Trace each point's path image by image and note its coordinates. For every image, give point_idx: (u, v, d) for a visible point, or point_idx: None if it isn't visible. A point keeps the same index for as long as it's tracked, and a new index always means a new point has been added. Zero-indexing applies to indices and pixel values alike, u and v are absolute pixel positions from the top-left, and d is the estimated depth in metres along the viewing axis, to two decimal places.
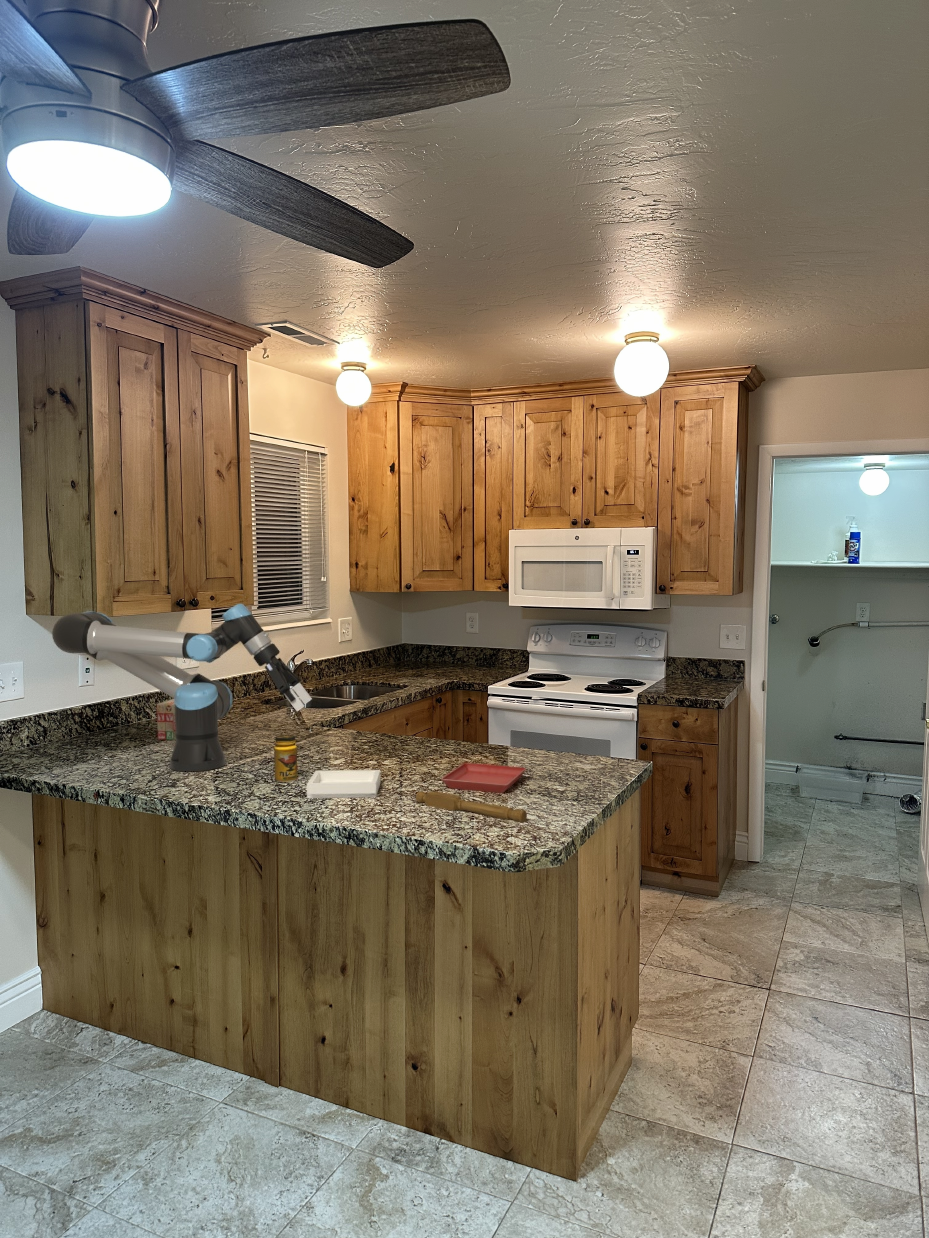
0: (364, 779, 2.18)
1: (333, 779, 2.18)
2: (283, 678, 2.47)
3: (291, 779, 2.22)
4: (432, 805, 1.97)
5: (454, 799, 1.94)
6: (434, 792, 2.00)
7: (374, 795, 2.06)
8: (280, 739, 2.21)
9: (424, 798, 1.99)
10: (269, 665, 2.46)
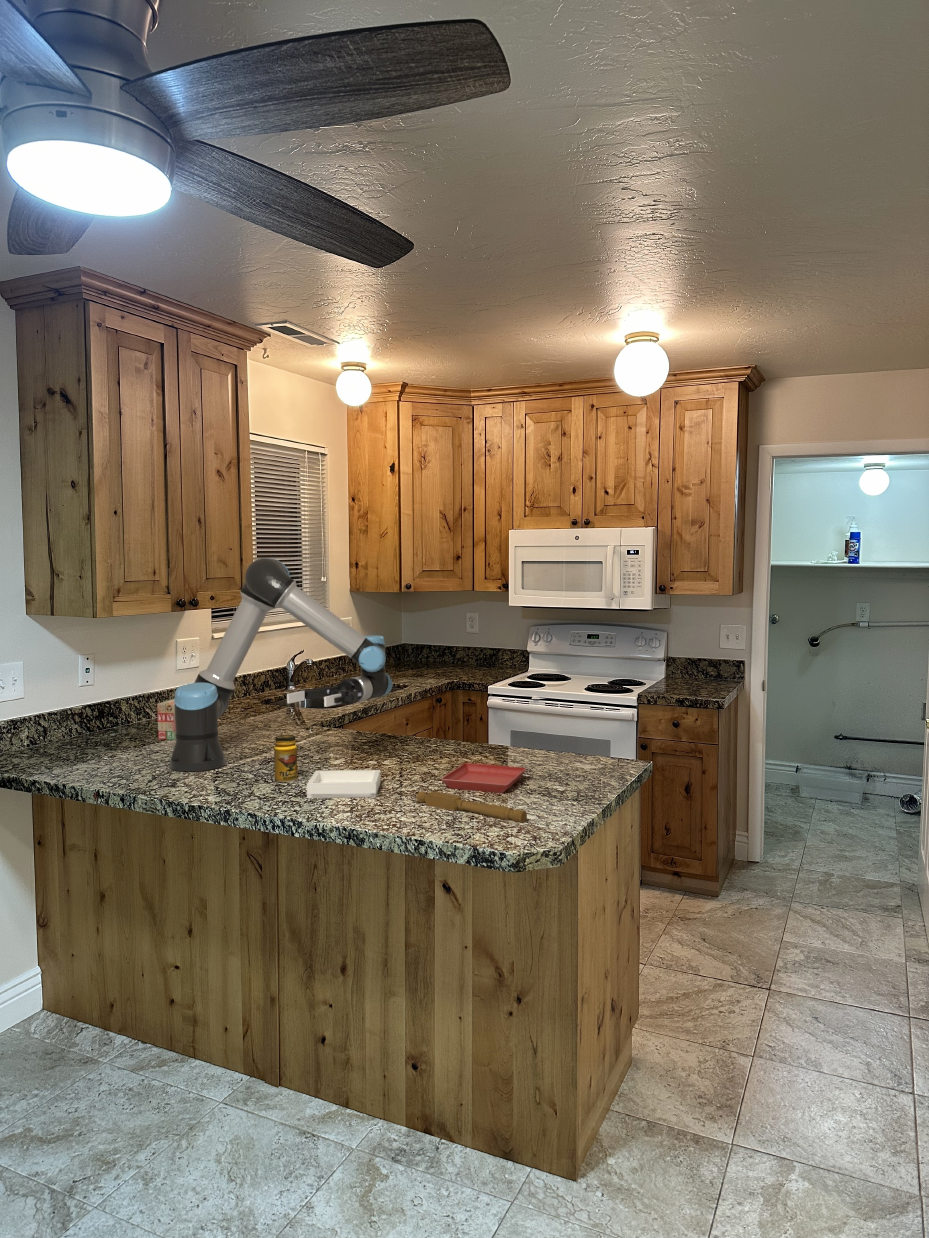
0: (364, 779, 2.18)
1: (333, 779, 2.18)
2: None
3: (291, 779, 2.22)
4: (433, 805, 1.97)
5: (455, 799, 1.94)
6: (435, 792, 1.99)
7: (374, 795, 2.06)
8: (280, 739, 2.21)
9: (425, 798, 1.99)
10: (360, 695, 2.42)
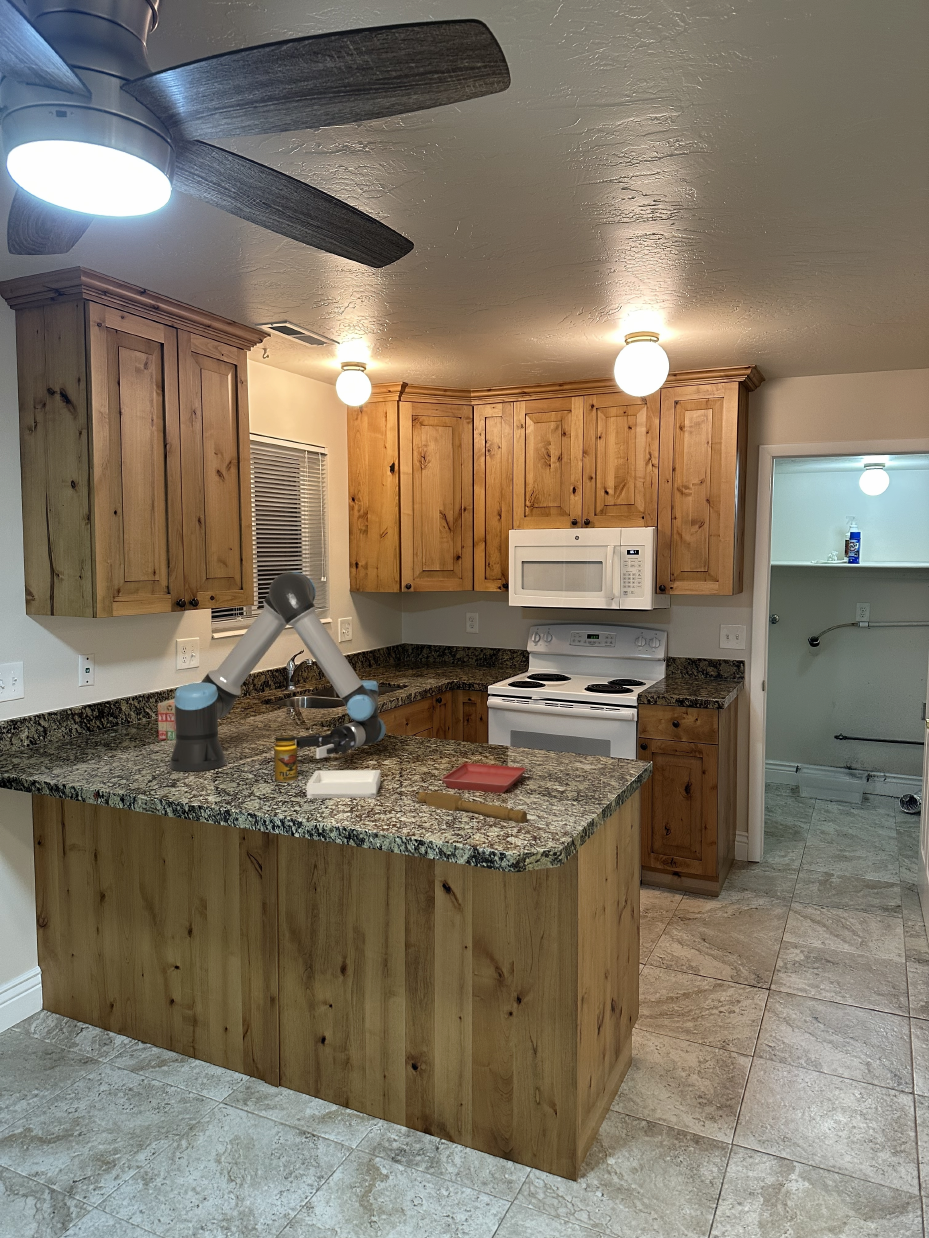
0: (364, 779, 2.18)
1: (333, 779, 2.18)
2: None
3: (291, 779, 2.22)
4: (433, 805, 1.97)
5: (455, 799, 1.94)
6: (435, 792, 1.99)
7: (374, 795, 2.06)
8: (280, 739, 2.21)
9: (425, 798, 1.99)
10: (353, 744, 2.38)
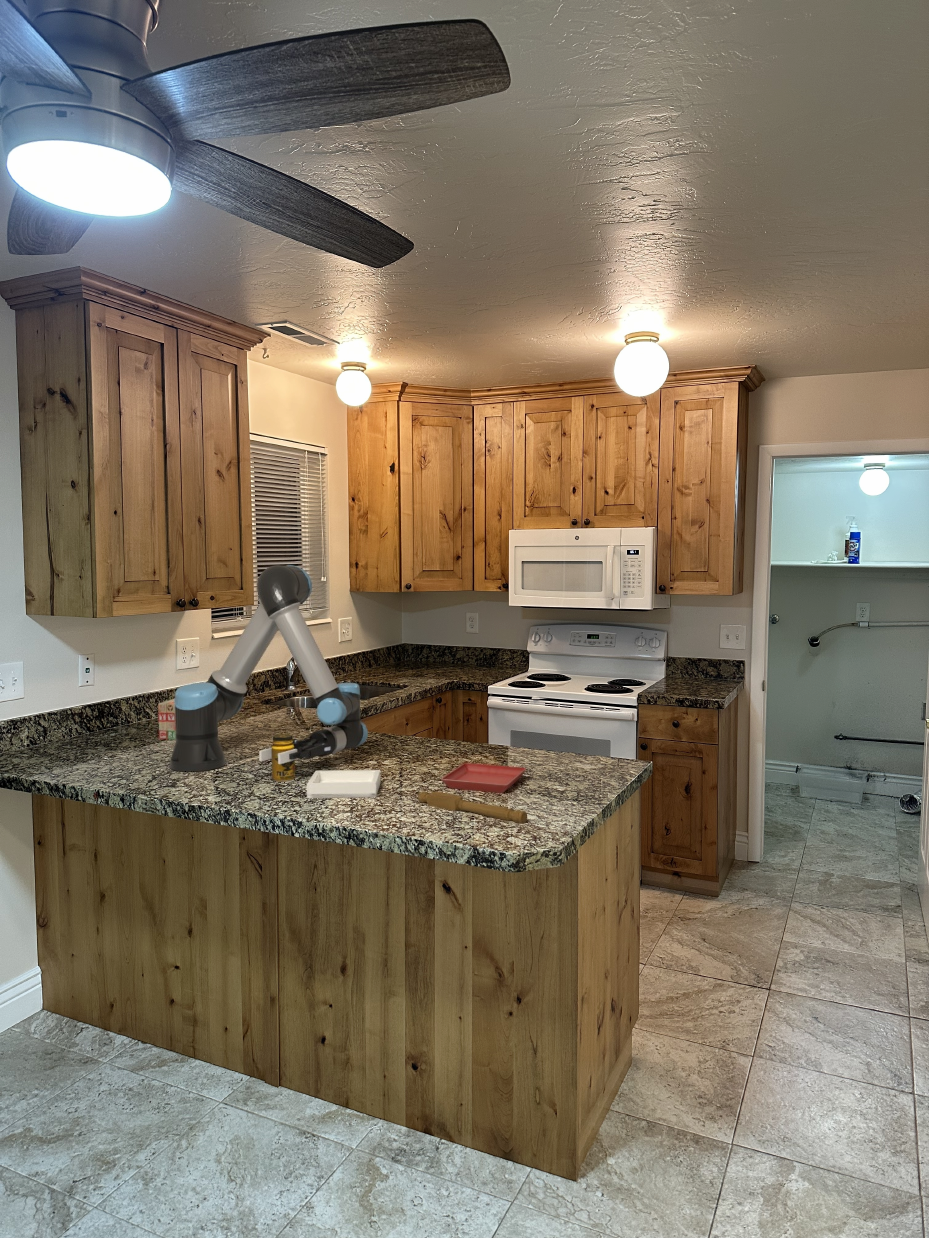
0: (364, 779, 2.18)
1: (333, 779, 2.18)
2: None
3: (288, 779, 2.22)
4: (434, 805, 1.97)
5: (456, 799, 1.94)
6: (436, 792, 1.99)
7: (374, 795, 2.06)
8: (277, 739, 2.21)
9: (426, 798, 1.99)
10: (329, 749, 2.30)
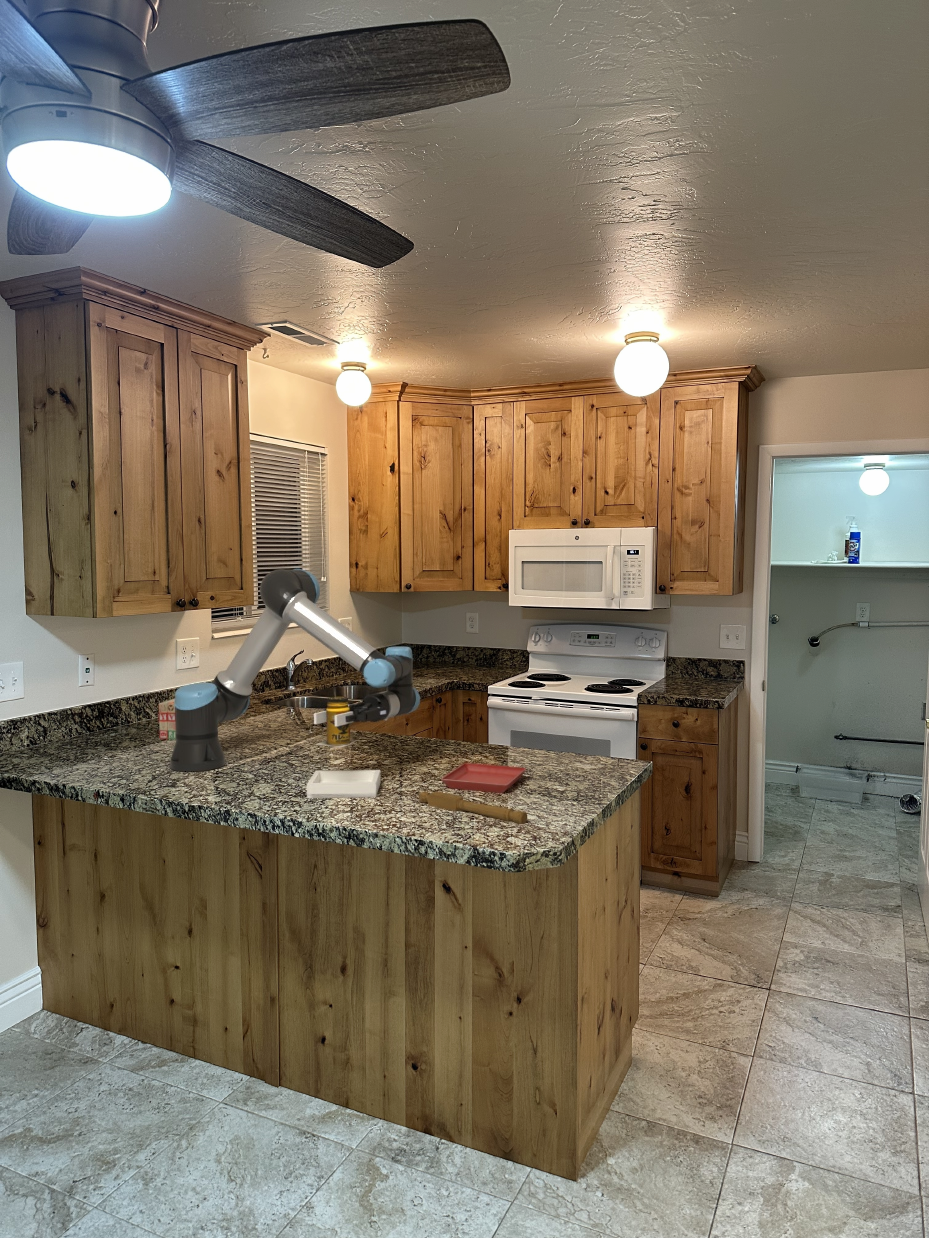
0: (364, 779, 2.18)
1: (333, 779, 2.18)
2: None
3: (344, 742, 2.11)
4: (434, 805, 1.97)
5: (456, 799, 1.94)
6: (437, 792, 1.99)
7: (374, 795, 2.06)
8: (332, 700, 2.11)
9: (427, 798, 1.99)
10: (384, 713, 2.20)
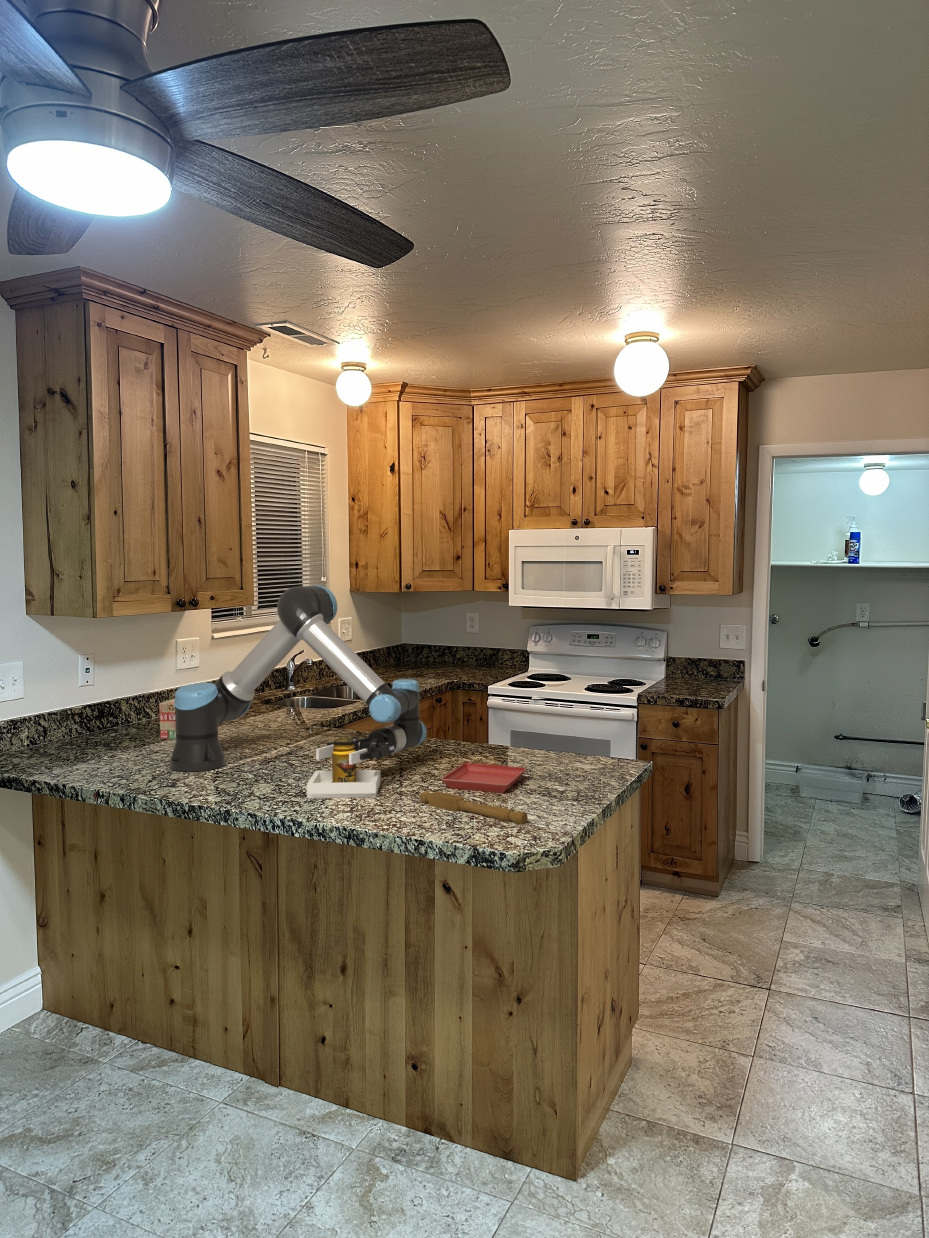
0: (364, 779, 2.18)
1: None
2: None
3: None
4: (435, 805, 1.97)
5: (457, 800, 1.93)
6: (438, 792, 1.99)
7: (374, 795, 2.06)
8: (338, 743, 2.10)
9: (428, 798, 1.99)
10: (393, 748, 2.19)
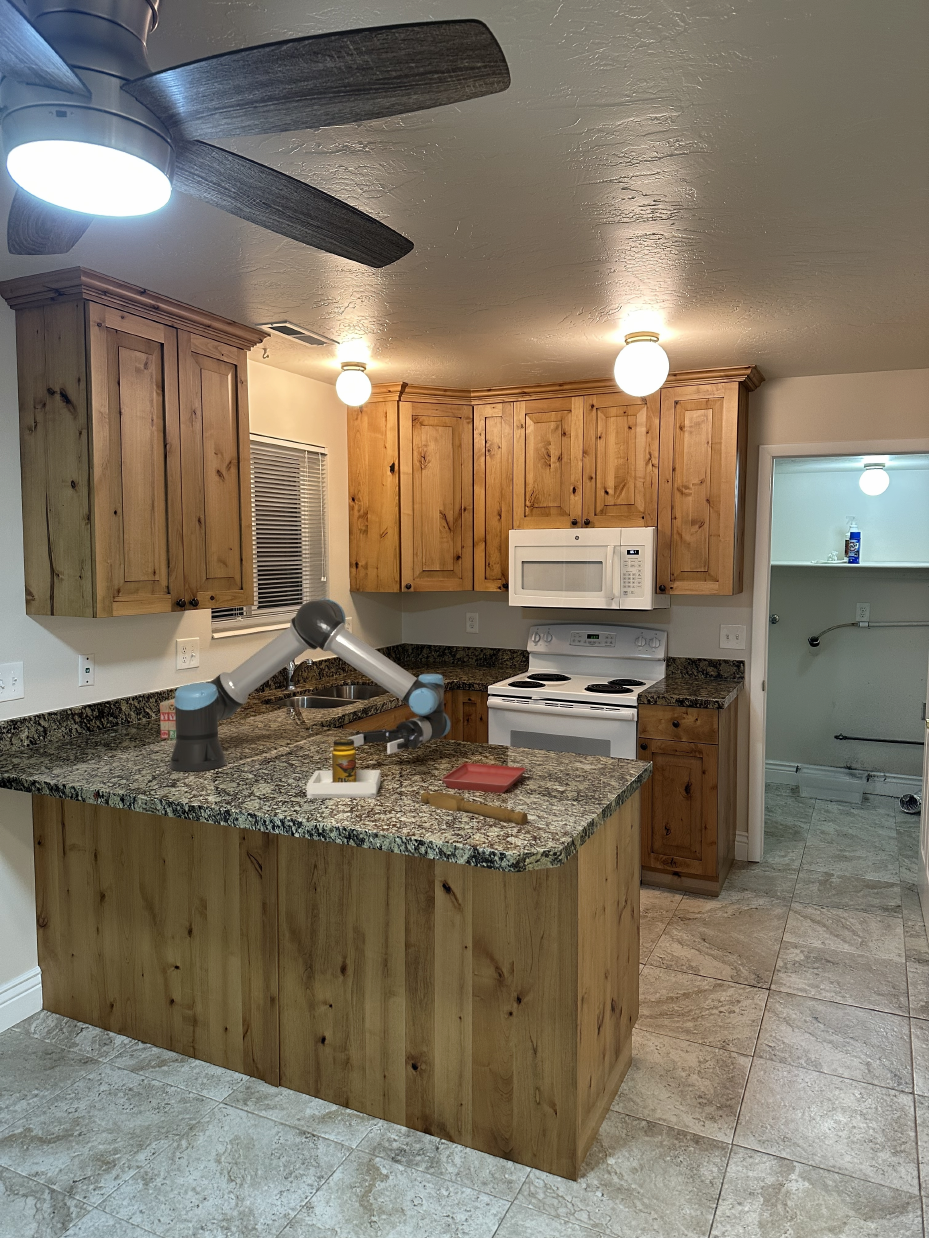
0: (364, 779, 2.18)
1: None
2: None
3: None
4: (436, 805, 1.97)
5: (457, 800, 1.93)
6: (439, 793, 1.99)
7: (374, 795, 2.06)
8: (338, 743, 2.10)
9: (428, 798, 1.99)
10: (422, 739, 2.31)
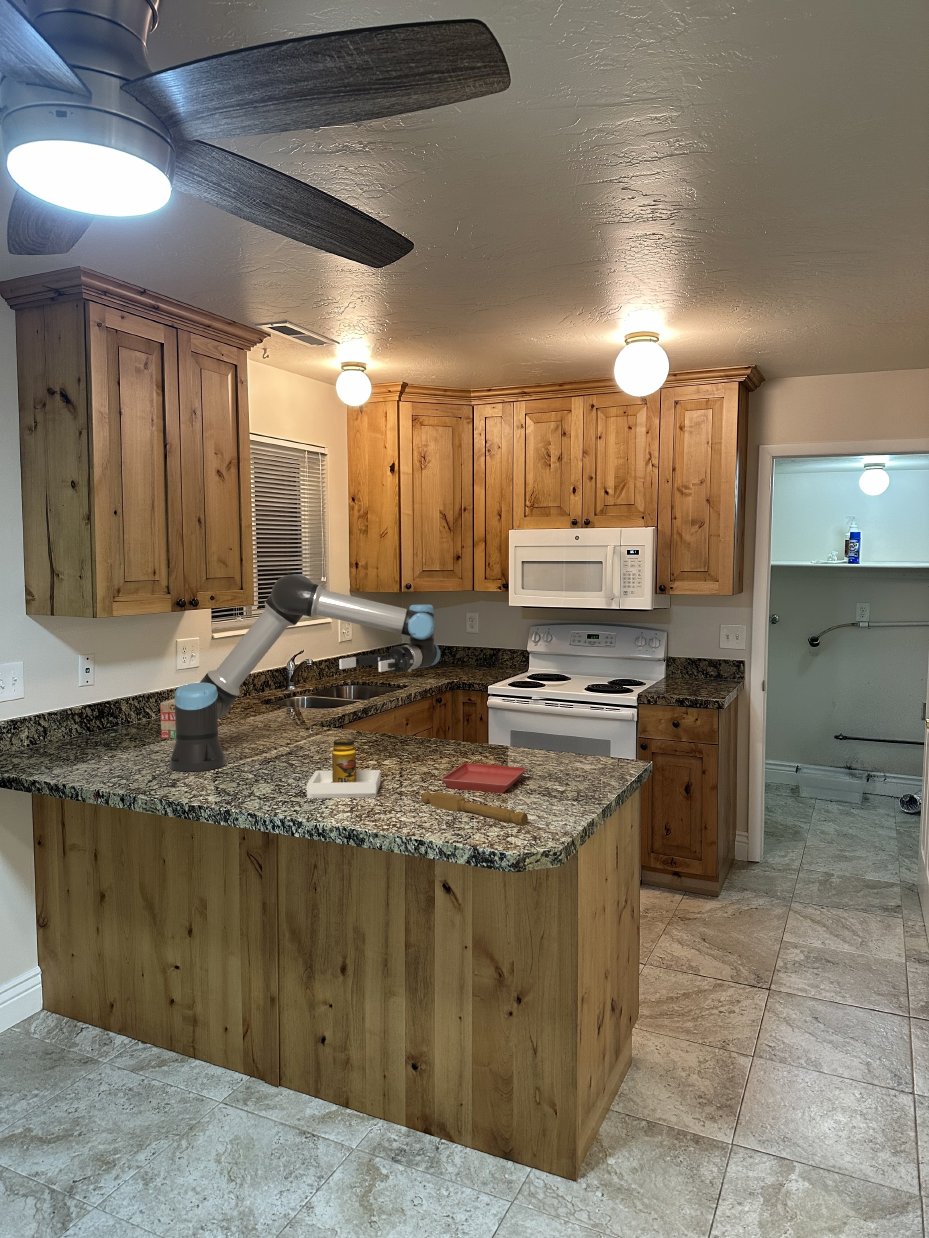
0: (364, 779, 2.18)
1: None
2: None
3: None
4: (436, 806, 1.97)
5: (458, 800, 1.93)
6: (439, 793, 1.99)
7: (374, 795, 2.06)
8: (338, 743, 2.10)
9: (429, 798, 1.99)
10: (412, 662, 2.39)
